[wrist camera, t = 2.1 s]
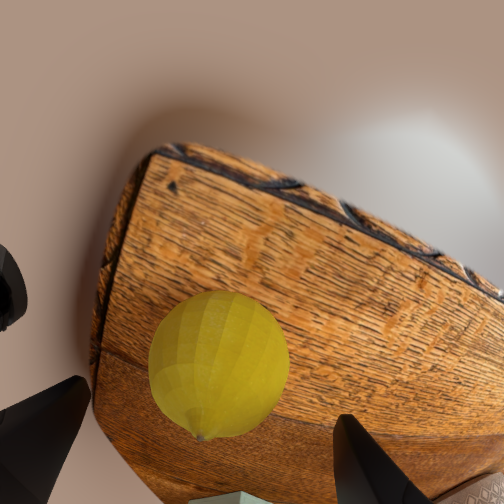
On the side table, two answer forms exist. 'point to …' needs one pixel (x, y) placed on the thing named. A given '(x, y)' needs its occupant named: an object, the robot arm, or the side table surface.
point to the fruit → (218, 364)
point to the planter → (477, 491)
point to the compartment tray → (230, 499)
